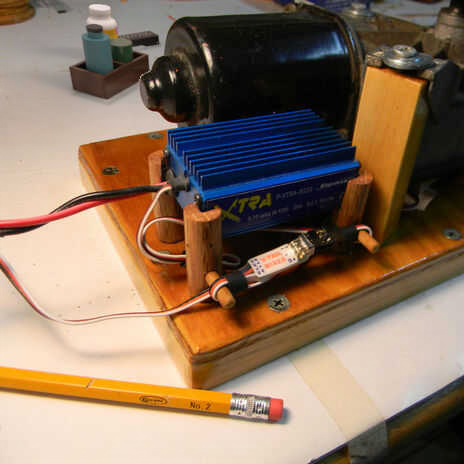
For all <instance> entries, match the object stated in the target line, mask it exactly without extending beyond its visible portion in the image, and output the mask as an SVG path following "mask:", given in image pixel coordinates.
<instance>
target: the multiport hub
mask: <svg viewBox="0 0 464 464" xmlns="http://www.w3.org/2000/svg"><path fill="white" fill-rule="evenodd" d="M118 38H124V39H128V40H130V41H131V42H132V47H133V48H134V47H139V46H143V47H151V46H155V45H159V44H160V36H159V34H158V33H155V32H153V31H151V30H144V31H139V32H134V33H126V34H120V35H118ZM157 42H158V43H157Z"/></svg>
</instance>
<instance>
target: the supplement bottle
mask: <svg viewBox="0 0 464 464" xmlns="http://www.w3.org/2000/svg"><path fill="white" fill-rule="evenodd" d="M88 12H89V13H90V16H89V17H88V18H87V19H86V25H89V24H98V25H101V26H102V27H103V33H105V34H107V35H109V37H110V39H113V38H118V36H119V33H118V32H119V31H118V24H117V21H116V19H114V18H113V17H111V15H112V9H111V6H109V5H107V4H100V3H99V4H98V3H96V4H90V5H89V6H88Z"/></svg>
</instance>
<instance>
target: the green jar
mask: <svg viewBox="0 0 464 464" xmlns="http://www.w3.org/2000/svg"><path fill="white" fill-rule="evenodd" d="M110 45H111V53H112V60H114V61H118V62H121V63H125V64H126V63H128V62H130V61H132V60H134V58H133V50H134V47H132V42H131V41H130V40H128V39H124V38H113V39H110Z"/></svg>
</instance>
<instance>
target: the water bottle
mask: <svg viewBox="0 0 464 464" xmlns="http://www.w3.org/2000/svg"><path fill="white" fill-rule="evenodd" d="M85 30H86V32H85V33H83V34H81V43H82V48H83V54H84V60H85V61H86V67H87V70H88V71H91V72H95V73H98V74H102V75H104V74H106V73H108V72H110V71H112V70H114V69H113V61H112V53H111V45H110V37H109V35H107V34H105V33H103V27H102V26H101V25H98V24H89V25H87V24H86V25H85Z"/></svg>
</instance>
